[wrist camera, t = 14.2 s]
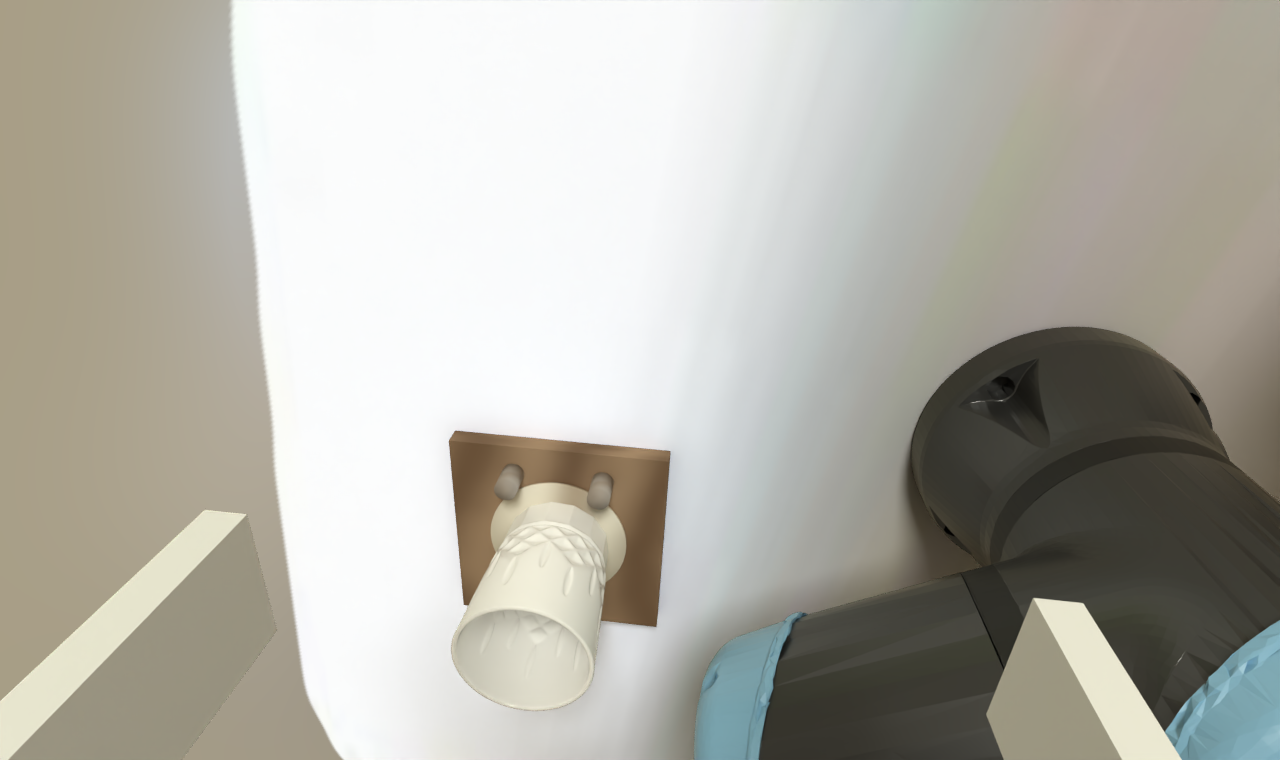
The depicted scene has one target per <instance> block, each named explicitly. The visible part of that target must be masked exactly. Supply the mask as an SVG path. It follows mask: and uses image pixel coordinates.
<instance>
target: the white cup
mask: <svg viewBox="0 0 1280 760" xmlns="http://www.w3.org/2000/svg"><path fill="white" fill-rule="evenodd" d="M607 560H608V544H607V537H606V533H605V532H604V530H603V529H602V528H601V526H600V525H599V523H598V522H597V521H596V519H595V518H594V517H593V516H591V515H590V514H588V513H586V512H585V511H583V510H581V509H579V508H578V507H576V506H574V505H569V504H563V503H557V502H547V503H542V504H537V505H533V506H530V507H528V508H527V509H526V510H525V511H523V512H522V513H521V514H519V515H518V516H517V517H516V518H515V519H514V521H513V523H512V525H511V527H510V529H509V531H508V533H507V535H506V537H505V539H504V541H503V543H502V544H501V546H500V547H499V548H498V550H497V551H496V553H495V555H494V557H493V559H492V561H491V562H490V564H489V566H488V568H487V570H486V572H485V574H484V575H483V577H482V579H481V581H480V583H479V585H478V587H477V589H476V591H475V593H474V595H473V597H472V600H471V602H470V604H469V606H468V608H467V610H466V612H465V614H464V616H463V618H462V620H461V622H460V624H459V626H458V628H457V630H456V632H455V634H454V636H453V639H452V645H451V653H452V659H453V662H454V665H455V667H456V669H457V671H458V672H459V674H460V675H461V677H462V678H463V679H464V681H465V682H466V683H467V684H468V685H469V686H470V687H471V688H473V689H474V690H475V691H476V692H478V693H479V694H481V695H482V696H484V697H486V698H487V699H489V700H491V701H493V702H496V703H498V704H501V705H503V706H507V707H510V708H514V709H520V710H527V711H544V710H552V709H556V708H560V707H563V706H565V705H568V704H570V703H572V702H574V701H575V700H577V699H578V698H579V697H581V696H582V695H583V694H584V693H585V692H586V690H587V689H588V687H589V686H590V684H591V682H592V679H593V675H594V668H595V661H596V653H597V646H598V639H599V632H600V625H601V618H602V610H603V600H604V592H605V583H606V566H607Z"/></svg>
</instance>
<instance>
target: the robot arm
mask: <svg viewBox="0 0 1280 760" xmlns="http://www.w3.org/2000/svg"><path fill="white" fill-rule="evenodd" d="M911 459H912V469H913V475H914V479H915V482H916V485H917V487H918V490H919V492H920V494H921V497H922V499H923V501H924V503H925V506H926V508H927V510H928V512H929V514H930V515H931V517H932V519H933V520H934V521H935V523H936V524H937V525H938V527H939V528H940V529H941V530H942V532H943V533H944V534H945V535H946V536H947V537H948V538H949V539H950V540H952V541H953V542H954V543H955V544H957V545H958V546H959V547H960V548H962V549H963V550H965V551H966V552H968V553H969V554H971V555H972V556H973V557H974V559H975V560H976V561H977V562H978V563H979V564H980V565H981V566H982V567H981V568H978V569H974V570H970V571H967V572H963V573H962V572H961V573H957V574H953V575H950V576H946V577H942V578H939V579H935V580H932V581H928V582H924V583H921V584H917V585H913V586H910V587H906V588H903V589H899V590H895V591H892V592H888V593H885V594H881V595H877V596H874V597H870V598H867V599H863V600H859V601H856V602H852V603H848V604H845V605H841V606H838V607H834V608H830V609H827V610H823V611H820V612H816V613H812V614H809V615H808V614H806V613H802V612H797V613H794V614H792V615H790V616H788V617H787V618H786V620H785V621H783V622H780V623H777V624H774V625H771V626H768V627H765V628H762V629H759V630H756V631H753V632H750V633H747V634H744V635H741V636H739V637H736V638H734V639H732V640H731V641H729V642H728V643H726V644H725V645H724V646H723V647H722V648H721V649H720V650H719V651H718V652H717V654H716V655H715V657H714V658H713V660H712V661H711V663H710V665H709V667H708V670H707V672H706V674H705V677H704V680H703V684H702V689H701V694H700V700H699V702H698V706H697V713H696V721H695V735H694V760H1280V502H1278V501H1277V500H1276V499H1275V498H1274V497H1272V496H1271V495H1270V494H1269V493H1268V492H1266V491H1265V490H1264V489H1263V488H1262V487H1261V486H1259V485H1258V484H1257V483H1256V482H1255V481H1253V480H1252V479H1251V478H1250V477H1248V476H1247V475H1246V474H1245V473H1244V472H1242V471H1241V470H1240V469H1239V468H1238V467H1236V466H1235V465H1234V464H1233V463H1232V462H1231V461H1230V460H1229V457H1228V455H1227V453H1226V451H1225V448H1224V446H1223V444H1222V442H1221V440H1220V439H1219V437H1218V436H1217V434H1216V433H1215V432H1214V431H1213V428H1212V422H1211V419H1210V415H1209V413H1208V410H1207V407H1206V405H1205V403H1204V401H1203V399H1202V397H1201V395H1200V393H1199V392H1198V390H1197V389H1196V387H1195V386H1194V385H1193V384H1192V383H1191V381H1190V380H1189V379H1188V378H1187V377H1186V376H1185V375H1184V374H1183V373H1182V372H1181V371H1180V370H1179V369H1178V368H1177V367H1175V366H1174V365H1173V364H1172V363H1170V362H1169V361H1168V360H1166V359H1165V358H1164V357H1162V356H1161V355H1160V354H1158V353H1157V352H1156V351H1154V350H1153V349H1151V348H1150V347H1148V346H1147V345H1145V344H1143V343H1142V342H1140V341H1138V340H1136V339H1133V338H1131V337H1129V336H1126V335H1123V334H1120V333H1117V332H1113V331H1109V330H1104V329H1098V328H1090V327H1061V328H1052V329H1045V330H1040V331H1035V332H1031V333H1027V334H1024V335H1020V336H1017V337H1014V338H1012V339H1009V340H1007V341H1004V342H1002V343H999V344H997V345H995V346H993V347H991V348H989V349H987V350H985V351H984V352H982V353H980V354H979V355H977V356H975V357H974V358H972V359H971V360H969V361H968V362H967V363H965V364H964V365H963V366H961V367H960V368H959V369H958V370H956V371H955V372H954V373H953V374H952V375H951V376H950V377H949V378H948V379H947V380H946V381H945V382H944V383H943V384H942V385H941V386H940V387H939V389H938V390H937V391H936V392H935V394H934V395H933V396H932V398H931V399H930V401H929V402H928V404H927V406H926V407H925V409H924V411H923V413H922V415H921V417H920V419H919V422H918V424H917V427H916V430H915V434H914V438H913V443H912V455H911ZM276 632H277V628H276V624H275V620H274V616H273V612H272V609H271V605H270V601H269V597H268V593H267V589H266V586H265V582H264V578H263V574H262V570H261V566H260V562H259V558H258V555H257V551H256V547H255V543H254V539H253V535H252V532H251V528H250V524H249V520H248V516H247V514H238V513H229V512H220V511H210V510H204V511H203V512H202V513H201V514H200V515H199V516H198V517H197V518H196V519H195V520H194V521H192V522H191V523H190V524H189V525H188V526H187V527H186V528H185V529H184V530H183V531H182V532H181V533H180V534H179V535H178V536H176V538H174V539H173V540H172V541H171V542H170V543H169V544H168V545H167V546H166V547H165V548H164V549H163V550H161V552H159V553H158V554H157V555H156V556H155V557H154V558H153V559H152V560H151V561H150V562H149V563H148V564H147V565H146V566H144V567H143V568H142V569H141V570H140V571H139V572H138V573H137V574H136V575H135V576H134V577H133V578H132V579H130V580H129V581H128V582H127V583H126V584H125V585H124V586H123V587H122V588H121V589H120V590H119V591H118V592H116V593H115V595H113V596H112V597H111V598H110V599H109V600H108V601H107V602H106V603H105V604H104V605H103V606H101V607H100V608H99V609H98V610H97V611H96V612H95V613H94V614H93V615H92V616H91V617H90V618H89V619H88V620H87V621H85V622H84V624H82V625H81V626H80V627H79V628H78V629H77V630H76V631H75V632H74V633H73V634H72V635H70V636H69V637H68V639H66V640H65V641H64V642H63V643H62V644H61V645H60V646H59V647H58V648H57V649H56V650H54V651H53V652H52V653H51V654H50V655H49V656H48V657H47V658H46V659H45V660H44V661H43V662H42V663H41V664H39V665H38V666H37V667H36V668H35V669H34V670H33V671H32V672H31V673H30V674H29V675H28V676H27V677H25V678H24V679H23V680H22V681H21V682H20V683H19V684H18V685H17V686H16V687H15V688H14V689H13V690H12V691H10V692H9V693H8V694H7V695H6V696H5V697H4V698H3V699H2V700H1V701H0V760H182V759H183V758H184V757H185V755H186V754H187V753H188V751H189V750H190V748H191V747H192V746H193V744H194V743H195V742H196V740H197V739H198V738H199V736H200V735H201V734H202V732H203V731H204V729H205V728H206V727H207V725H208V724H209V723H210V721H211V720H212V719H213V717H214V716H215V715H216V713H217V712H218V711H219V709H220V708H221V706H222V705H223V704H224V702H225V701H226V700H227V698H228V697H229V695H230V694H231V693H232V691H233V690H234V689H235V687H236V686H237V685H238V683H239V682H240V681H241V679H242V678H243V676H244V675H245V674H246V672H247V671H248V670H249V668H250V667H251V666H252V664H253V663H254V662H255V660H256V659H257V658H258V656H259V655H260V653H261V652H262V650H263V649H264V648H265V647H266V645H267V644H268V643H269V641H270V639H271V638H272V637H273V636H274V634H275V633H276Z"/></svg>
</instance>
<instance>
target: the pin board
mask: <svg viewBox="0 0 1280 760" xmlns="http://www.w3.org/2000/svg"><path fill="white" fill-rule="evenodd" d="M449 447H450V458H451V469H452V480H453V491H454V502H455V513H456V524H457V535H458V546H459V557H460V568H461V579H462V589H463V600H464V605H469V604H470V602H471V600H472V597H473V595H474V593H475V591H476V589H477V587H478V585H479V583H480V581H481V579H482V577H483V575H484V574H485V572H486V570H487V568H488V566H489V564H490V562H491V561H492V559H493V557H494V555H495V553H496V551H497V550H498V548H499V547H500V546H501V544H502V543H503V541H504V539H505V537H506V535H507V533H508V531H509V529H510V527H511V525H512V523H513V521H514V519H515V518H516V517H517V516H518V515H519V514H521V513H522V512H523V511H525V510H526V509H527V508H528V507H530V506H533V505H537V504H542V503H547V502H557V503H563V504H569V505H574V506H576V507H578V508H579V509H581V510H583V511H585V512H586V513H588V514H590V515H591V516H593V517H594V518H595V519H596V521H597V522H598V523H599V525H600V526H601V528H602V529H603V530H604V532H605V533H606V537H607V544H608V560H607V566H606V583H605V592H604V600H603V610H602V618H601V621H610V622H619V623H628V624H637V625H646V626H654V627H656V625H657V616H658V603H659V591H660V578H661V565H662V553H663V540H664V527H665V514H666V502H667V489H668V476H669V463H670V451H662V450H652V449H641V448H631V447H620V446H610V445H599V444H589V443H578V442H568V441H557V440H547V439H536V438H526V437H515V436H505V435H494V434H484V433H473V432H463V431H455V432H454V434H453V435H452V437H451V438H450V440H449Z"/></svg>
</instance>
